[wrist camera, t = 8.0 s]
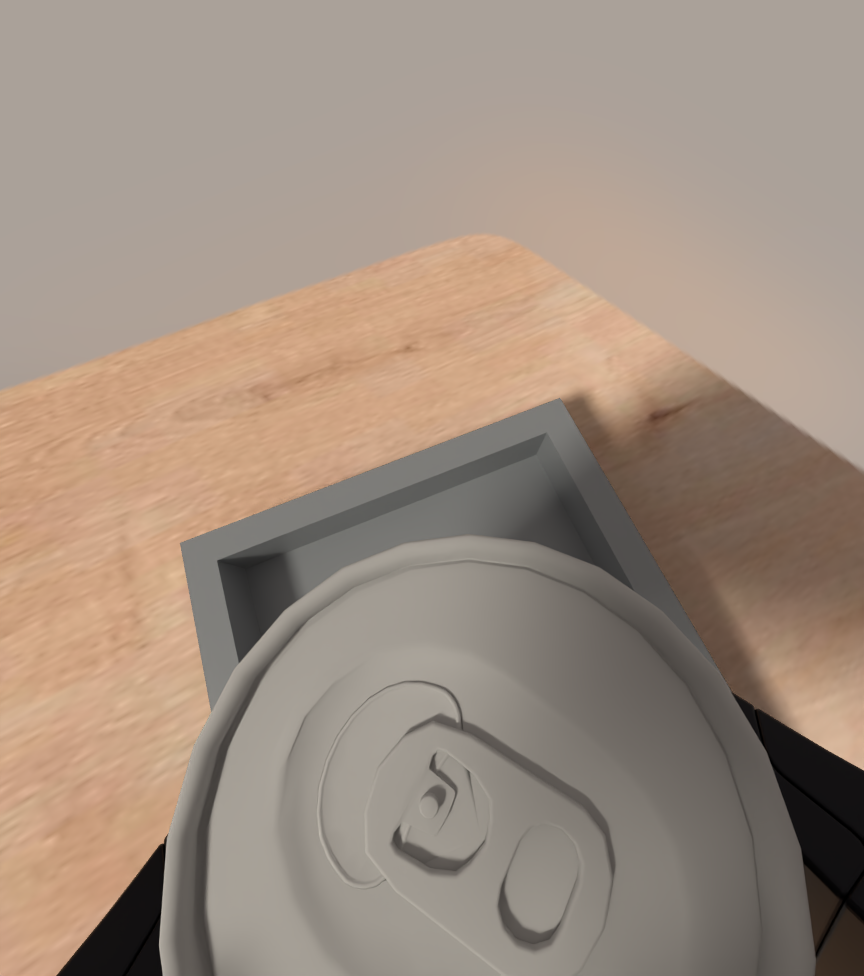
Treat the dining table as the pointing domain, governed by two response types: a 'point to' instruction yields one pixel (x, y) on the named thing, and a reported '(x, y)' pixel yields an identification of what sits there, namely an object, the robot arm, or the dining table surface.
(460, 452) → the tray
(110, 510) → the dining table surface
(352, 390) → the dining table surface
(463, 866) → the beverage can
